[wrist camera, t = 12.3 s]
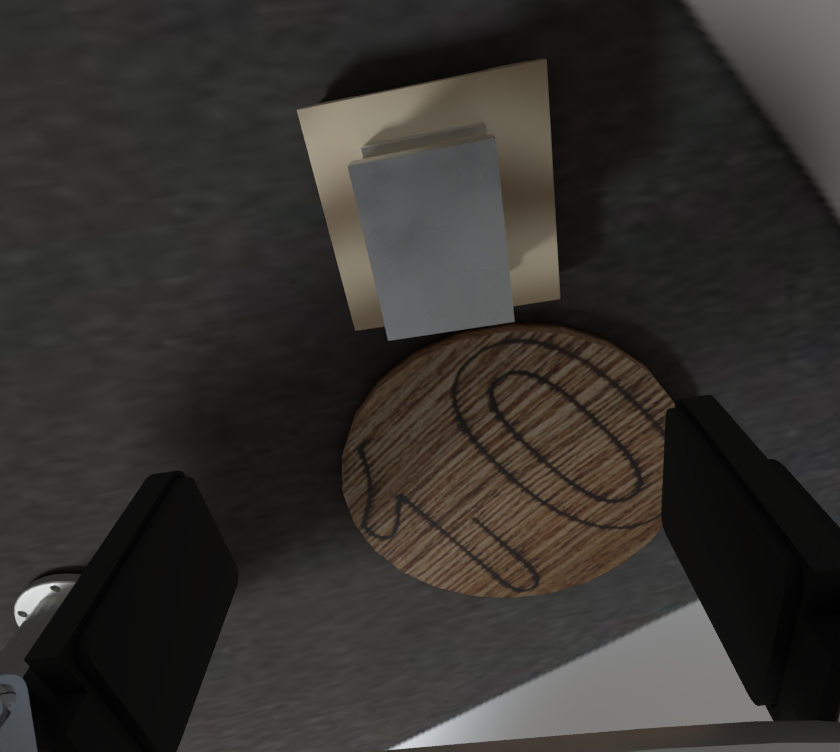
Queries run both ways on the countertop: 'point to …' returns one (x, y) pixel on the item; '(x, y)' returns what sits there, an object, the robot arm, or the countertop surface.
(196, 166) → the countertop surface
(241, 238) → the countertop surface
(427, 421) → the trivet
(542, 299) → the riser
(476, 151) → the block
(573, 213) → the countertop surface
